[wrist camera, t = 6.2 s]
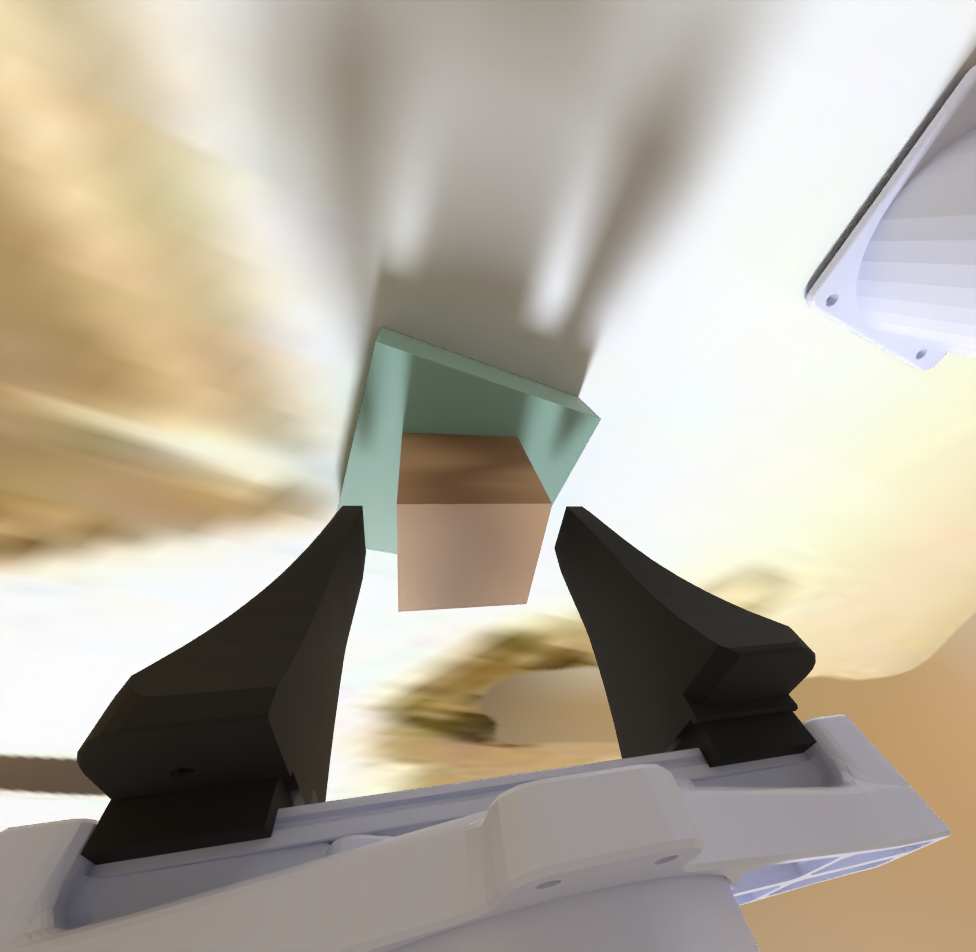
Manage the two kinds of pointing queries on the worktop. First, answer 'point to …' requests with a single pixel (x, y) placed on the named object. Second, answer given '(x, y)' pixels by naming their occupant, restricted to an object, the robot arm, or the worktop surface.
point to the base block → (451, 422)
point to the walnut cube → (467, 521)
